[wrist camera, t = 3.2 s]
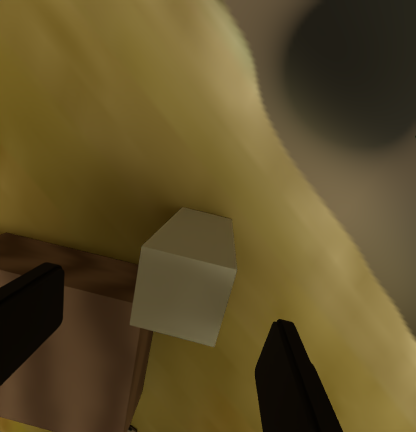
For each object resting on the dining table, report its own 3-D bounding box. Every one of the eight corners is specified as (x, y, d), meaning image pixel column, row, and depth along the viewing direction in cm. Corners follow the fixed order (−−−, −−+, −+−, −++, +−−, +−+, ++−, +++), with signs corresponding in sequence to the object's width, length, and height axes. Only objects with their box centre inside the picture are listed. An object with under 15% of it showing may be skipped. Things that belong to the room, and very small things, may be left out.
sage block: (231, 219, 20) (237, 270, 10) (219, 264, 21) (214, 347, 11) (182, 206, 20) (141, 246, 10) (173, 252, 21) (129, 324, 12)
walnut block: (165, 269, 22) (143, 305, 17) (143, 388, 27) (120, 449, 21) (10, 231, 23) (-63, 253, 17) (15, 354, 27) (-42, 405, 22)
